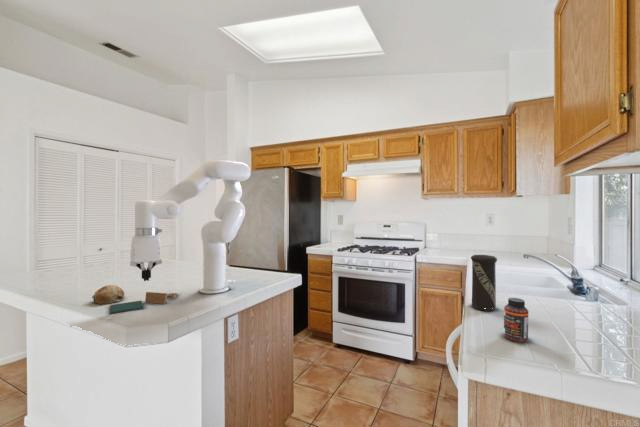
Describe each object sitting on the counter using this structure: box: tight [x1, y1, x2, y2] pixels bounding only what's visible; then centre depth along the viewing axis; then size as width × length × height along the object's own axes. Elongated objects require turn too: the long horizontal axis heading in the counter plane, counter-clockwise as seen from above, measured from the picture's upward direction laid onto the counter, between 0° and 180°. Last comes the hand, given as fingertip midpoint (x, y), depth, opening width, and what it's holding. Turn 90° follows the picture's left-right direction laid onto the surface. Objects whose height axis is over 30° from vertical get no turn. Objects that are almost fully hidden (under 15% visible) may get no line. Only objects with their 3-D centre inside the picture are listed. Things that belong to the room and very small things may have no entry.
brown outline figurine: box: [144, 291, 178, 305], centre depth 126 cm, size 9×4×12 cm
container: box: [470, 254, 498, 312], centre depth 115 cm, size 9×9×20 cm
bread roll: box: [91, 284, 125, 305], centre depth 122 cm, size 10×10×8 cm
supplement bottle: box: [503, 297, 529, 343], centre depth 87 cm, size 6×6×11 cm
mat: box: [109, 300, 144, 315], centre depth 114 cm, size 10×10×1 cm
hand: (146, 280), depth 117 cm, fingers closed
